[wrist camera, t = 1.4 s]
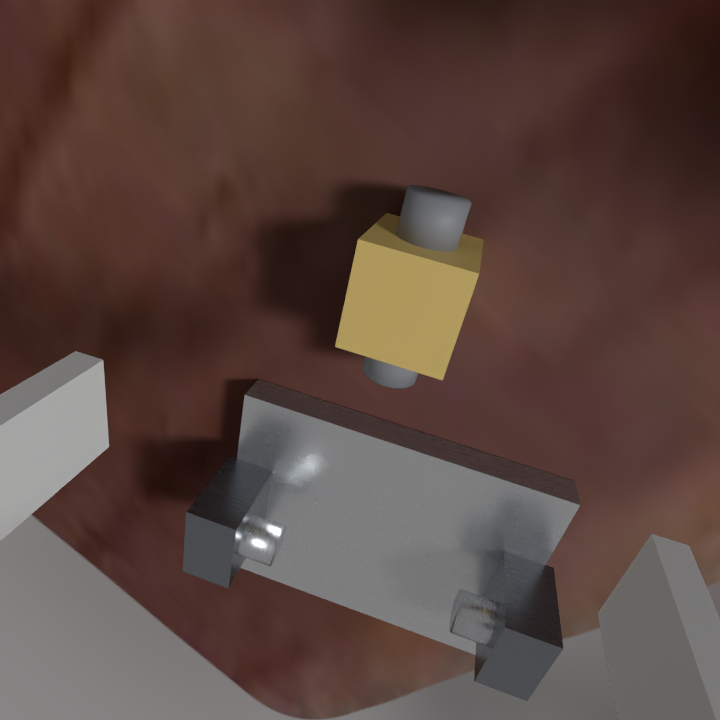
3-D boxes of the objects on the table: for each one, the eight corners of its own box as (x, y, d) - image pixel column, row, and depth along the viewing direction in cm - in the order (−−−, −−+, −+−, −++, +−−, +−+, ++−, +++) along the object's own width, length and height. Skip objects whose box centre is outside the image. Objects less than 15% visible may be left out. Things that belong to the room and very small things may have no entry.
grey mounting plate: (230, 539, 39) (179, 621, 33) (251, 376, 32) (190, 442, 26) (497, 636, 37) (496, 745, 31) (583, 484, 30) (606, 585, 23)
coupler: (396, 171, 25) (368, 188, 19) (497, 198, 24) (496, 223, 19) (358, 334, 29) (326, 383, 24) (442, 360, 28) (429, 416, 23)
